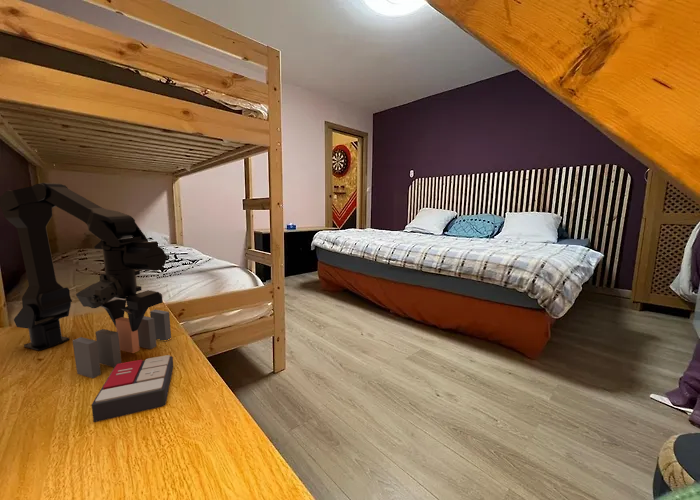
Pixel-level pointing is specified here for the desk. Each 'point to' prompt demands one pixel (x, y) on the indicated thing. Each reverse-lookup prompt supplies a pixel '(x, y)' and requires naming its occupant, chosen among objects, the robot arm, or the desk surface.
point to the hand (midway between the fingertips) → (126, 329)
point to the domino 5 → (161, 324)
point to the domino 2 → (108, 347)
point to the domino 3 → (127, 336)
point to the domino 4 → (147, 333)
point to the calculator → (134, 388)
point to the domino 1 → (86, 357)
